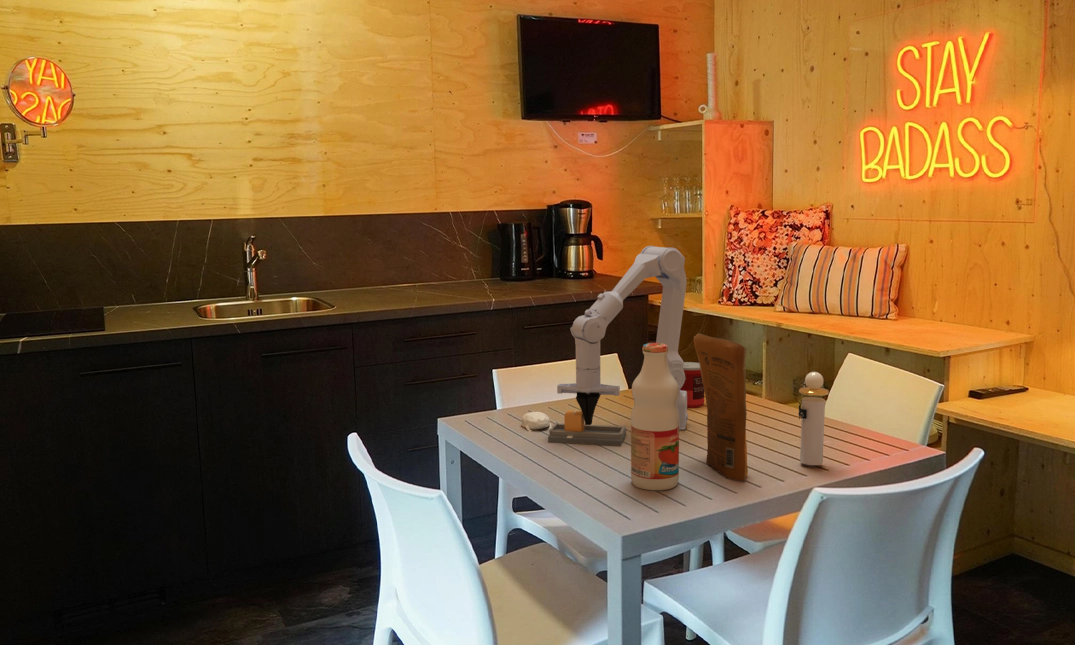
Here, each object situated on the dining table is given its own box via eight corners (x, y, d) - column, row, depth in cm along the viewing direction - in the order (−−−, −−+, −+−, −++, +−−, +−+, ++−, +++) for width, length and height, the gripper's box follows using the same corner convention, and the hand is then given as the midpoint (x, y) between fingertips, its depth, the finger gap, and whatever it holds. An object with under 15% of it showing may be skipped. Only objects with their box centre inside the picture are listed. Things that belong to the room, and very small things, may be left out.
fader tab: (584, 429, 200) (584, 410, 200) (581, 433, 197) (581, 415, 196) (568, 428, 201) (567, 410, 201) (564, 432, 198) (564, 414, 197)
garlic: (556, 430, 206) (555, 415, 206) (531, 433, 203) (530, 418, 203) (541, 422, 213) (541, 407, 213) (517, 425, 211) (517, 411, 210)
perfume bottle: (821, 460, 179) (824, 368, 176) (829, 469, 173) (833, 374, 170) (793, 460, 179) (796, 369, 176) (801, 469, 174) (804, 375, 171)
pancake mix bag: (727, 486, 165) (730, 346, 161) (689, 456, 183) (690, 330, 179) (759, 483, 166) (762, 344, 162) (718, 454, 185) (720, 328, 180)
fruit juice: (637, 473, 173) (637, 339, 169) (683, 478, 170) (684, 341, 166) (625, 488, 165) (625, 348, 160) (672, 494, 161) (674, 350, 157)
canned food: (673, 400, 231) (674, 361, 230) (703, 401, 230) (704, 362, 229) (674, 408, 224) (674, 367, 222) (705, 408, 223) (705, 368, 221)
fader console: (626, 433, 201) (626, 423, 201) (620, 446, 192) (620, 435, 191) (557, 430, 205) (557, 420, 205) (548, 442, 196) (547, 432, 195)
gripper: (554, 369, 194) (554, 427, 196) (616, 372, 190) (616, 430, 192) (560, 363, 200) (561, 418, 203) (621, 365, 197) (621, 421, 199)
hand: (588, 423), depth 198 cm, fingers closed
